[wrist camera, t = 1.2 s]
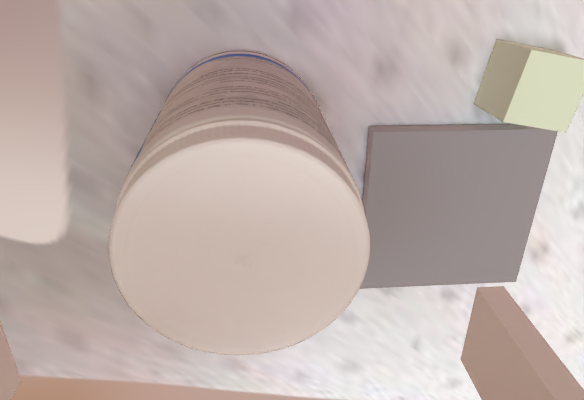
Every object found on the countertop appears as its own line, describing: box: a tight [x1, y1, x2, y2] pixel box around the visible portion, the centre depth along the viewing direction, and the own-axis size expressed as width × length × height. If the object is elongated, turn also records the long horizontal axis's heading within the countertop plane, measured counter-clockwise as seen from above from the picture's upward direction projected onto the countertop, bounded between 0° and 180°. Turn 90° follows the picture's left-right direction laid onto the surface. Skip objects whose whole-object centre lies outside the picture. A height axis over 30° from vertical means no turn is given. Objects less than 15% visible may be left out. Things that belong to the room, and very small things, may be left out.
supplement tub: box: [109, 51, 370, 355], centre depth 23 cm, size 10×10×15 cm
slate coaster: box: [359, 124, 558, 289], centre depth 33 cm, size 12×12×1 cm
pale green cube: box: [474, 39, 584, 133], centre depth 28 cm, size 4×4×4 cm
